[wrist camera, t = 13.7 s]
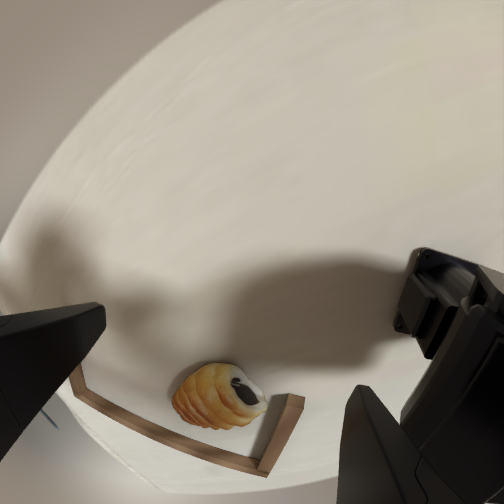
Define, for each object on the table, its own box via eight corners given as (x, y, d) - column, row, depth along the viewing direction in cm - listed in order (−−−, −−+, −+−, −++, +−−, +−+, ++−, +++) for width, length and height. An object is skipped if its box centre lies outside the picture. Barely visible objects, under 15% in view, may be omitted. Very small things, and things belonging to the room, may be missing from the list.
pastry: (206, 423, 27) (193, 448, 23) (163, 381, 27) (145, 404, 23) (275, 399, 24) (268, 429, 20) (228, 348, 23) (213, 375, 20)
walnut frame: (305, 397, 23) (303, 408, 21) (269, 468, 27) (266, 477, 26) (63, 306, 27) (54, 311, 26) (80, 390, 31) (74, 396, 30)
